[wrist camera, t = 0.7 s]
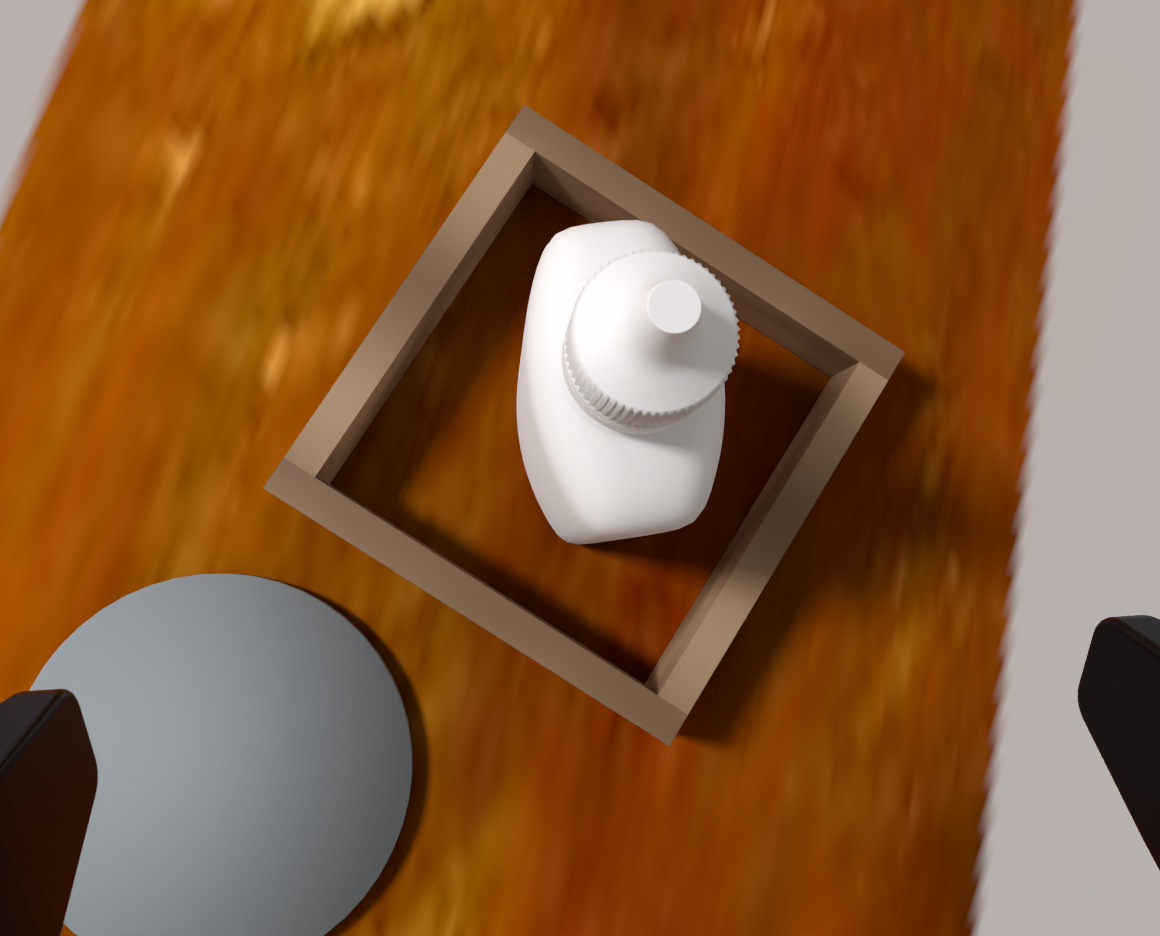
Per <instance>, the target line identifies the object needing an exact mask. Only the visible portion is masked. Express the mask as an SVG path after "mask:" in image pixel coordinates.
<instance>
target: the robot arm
mask: <svg viewBox="0 0 1160 936" xmlns="http://www.w3.org/2000/svg"><path fill="white" fill-rule="evenodd" d="M1078 703H1079V708H1080V711H1081V715H1082V717H1083V719H1084V721H1085V723H1086V725H1087V727H1088V730H1089V731H1090V734H1091V735H1092V738H1093V740H1094V742H1095V743H1096V746H1097V748H1098V750H1099V752H1100V754H1101V756H1102V758H1103V759H1104V762H1105V764H1106V766H1107V768H1108V770H1109V772H1110V774H1111V776H1112V778H1113V780H1114V782H1115V784H1116V786H1117V788H1118V790H1119V792H1120V794H1121V796H1122V798H1123V800H1124V802H1125V804H1126V806H1127V808H1128V810H1129V812H1130V814H1131V816H1132V818H1133V820H1134V822H1135V824H1136V826H1137V828H1138V830H1139V832H1140V834H1141V836H1142V838H1143V840H1144V842H1145V844H1146V846H1147V848H1148V849H1149V851H1150V853H1151V855H1152V857H1153V859H1154V861H1155V863H1156V864H1157V866H1158V868H1159V870H1160V620H1159V619H1157V618H1155V617H1152V616H1147V615H1135V616H1121V617H1109V618H1106V619H1104V620H1102V621H1101V622H1100V623H1099V624H1098V626H1097V627H1096V629H1095V631H1094V634H1093V637H1092V641H1091V644H1090V648H1089V651H1088V655H1087V659H1086V662H1085V665H1084V669H1083V673H1082V676H1081V680H1080V683H1079V688H1078ZM97 784H98V768H97V762H96V758H95V755H94V751H93V748H92V745H91V741H90V738H89V735H88V731H87V728H86V725H85V721H84V718H83V715H82V711H81V708H80V705H79V702H78V700H77V698H76V697H75V695H74V694H73V693H72V692H70V691H68V690H66V689H49V690H34V691H23V692H19V693H16V694H14V695H12V696H11V697H9V698H8V699H6V700H5V701H3V702H2V703H0V936H60V935H61V931H62V927H63V923H64V919H65V915H66V912H67V908H68V904H69V900H70V896H71V892H72V888H73V884H74V880H75V876H76V872H77V868H78V864H79V860H80V856H81V852H82V848H83V844H84V840H85V836H86V832H87V828H88V824H89V820H90V816H91V812H92V808H93V804H94V800H95V796H96V791H97Z"/></svg>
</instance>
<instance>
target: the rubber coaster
mask: <svg viewBox="0 0 1160 936" xmlns="http://www.w3.org/2000/svg"><path fill="white" fill-rule="evenodd" d="M49 689H66V690H68V691H70V692H72V693H73V694H74V695H75V697H76V698H77V700H78V702H79V705H80V708H81V711H82V715H83V718H84V721H85V725H86V728H87V731H88V735H89V738H90V741H91V745H92V748H93V751H94V755H95V758H96V762H97V768H98V784H97V791H96V796H95V800H94V804H93V808H92V812H91V816H90V820H89V824H88V828H87V832H86V836H85V840H84V844H83V848H82V852H81V856H80V860H79V864H78V868H77V872H76V876H75V880H74V884H73V888H72V892H71V896H70V900H69V904H68V908H67V912H66V915H65V919H64V924H65V925H66V926H67V927H68V928H69V929H70V930H71V931H72V932H73V933H75V934H76V935H77V936H324V935H325V934H326V933H328V932H329V931H330V930H331V929H332V928H333V927H335V926H336V925H337V924H338V923H339V922H341V921H342V920H343V919H344V918H345V917H346V916H347V915H348V914H349V913H350V912H351V911H352V910H353V909H354V908H355V906H356V905H357V904H358V903H359V902H360V901H361V900H362V899H363V898H364V896H365V895H366V894H367V892H368V891H369V889H370V888H371V887H372V885H373V884H374V883H375V881H376V880H377V878H378V877H379V875H380V874H381V872H382V870H383V868H384V866H385V864H386V863H387V861H388V859H389V857H390V855H391V853H392V851H393V849H394V846H395V843H396V841H397V838H398V836H399V833H400V831H401V828H402V825H403V822H404V818H405V814H406V810H407V806H408V802H409V798H410V791H411V782H412V774H413V753H412V740H411V733H410V726H409V720H408V717H407V713H406V710H405V706H404V702H403V699H402V696H401V694H400V691H399V689H398V687H397V684H396V682H395V680H394V677H393V675H392V673H391V672H390V670H389V668H388V667H387V665H386V663H385V662H384V660H383V658H382V657H381V655H380V653H379V652H378V651H377V650H376V648H375V647H374V646H373V645H372V643H371V642H370V641H369V640H368V638H367V637H366V636H365V634H364V633H362V632H361V631H360V630H359V629H358V628H357V627H356V626H355V625H354V624H353V623H352V622H351V621H350V620H349V619H348V618H347V617H346V616H344V615H343V614H341V613H340V612H339V611H337V610H336V609H335V608H333V607H332V606H331V605H329V604H328V603H326V602H325V601H323V600H321V599H319V598H317V597H315V596H313V595H312V594H310V593H308V592H306V591H304V590H301V589H299V588H296V587H294V586H291V585H288V584H286V583H283V582H280V581H276V580H272V579H267V578H263V577H259V576H252V575H243V574H233V573H226V574H200V575H193V576H187V577H180V578H174V579H171V580H167V581H164V582H160V583H157V584H153V585H150V586H147V587H145V588H143V589H140V590H138V591H136V592H133V593H131V594H129V595H126V596H124V597H122V598H121V599H119V600H117V601H116V602H114V603H112V604H110V605H109V606H107V607H105V608H104V609H102V610H100V611H99V612H98V613H97V614H95V615H94V616H93V617H91V618H90V619H89V620H87V621H86V622H85V623H83V624H82V625H81V626H80V627H79V628H78V629H77V630H76V631H75V632H74V633H72V634H71V635H70V636H69V637H68V638H67V639H66V640H65V641H64V642H63V643H62V644H61V645H60V647H59V648H58V649H57V650H56V652H55V653H54V654H53V655H52V657H51V658H50V659H49V660H48V662H47V663H46V664H45V666H44V667H43V669H42V670H41V672H40V674H39V675H38V677H37V678H36V680H35V682H34V683H33V685H32V687H31V688H30V690H29V691H34V690H49Z"/></svg>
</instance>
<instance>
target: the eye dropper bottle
mask: <svg viewBox="0 0 1160 936" xmlns="http://www.w3.org/2000/svg"><path fill="white" fill-rule="evenodd" d="M725 291H726V288H725V287H723V286H721V281H720V280H717V279H715V274H712V273H709V270H708V268H703V267H702V265H701V263H695V261H694V259H693V258H692V259H688V258H687V257H686V256H685V255H681V254H680V252H679V251H678V249H677V248H676V246H675V245H674V244H673V242H672V241H671V240H670V239H669V237H668V236H667V235H666V234H665V232H663V231H662V230H661V229H659V228H658V227H657V226H655V225H654V224H653V223H649V222H644V221H640V220H620V221H609V222H600V223H592V224H585V225H580V226H574V227H570V228H568V229H566V230H563V231H561V232H559V233H557V234H555V236H554V237H553V238H552V239H551V241H550V242H549V243H548V244H547V246H546V247H545V249H544V251H543V253H542V256H541V258H540V261H539V263H538V266H537V269H536V273H535V276H534V280H533V283H532V288H531V293H530V298H529V303H528V308H527V314H526V321H525V329H524V336H523V344H522V351H521V359H520V367H519V375H518V385H517V427H518V436H519V442H520V448H521V453H522V457H523V462H524V465H525V469H526V472H527V475H528V478H529V481H530V484H531V487H532V489H533V492H534V494H535V496H536V499H537V501H538V503H539V505H540V507H541V509H542V511H543V513H544V515H545V516H546V518H547V520H548V522H549V524H550V525H551V526H552V528H553V529H554V531H555V532H556V534H557V535H558V536H559V537H561V538H562V539H563V540H564V541H566V542H567V543H573V544H579V545H580V544H590V543H598V542H605V541H613V540H620V539H627V538H634V537H640V536H646V535H652V534H658V533H663V532H669V531H673V530H677V529H680V528H682V527H684V526H686V525H688V524H690V523H692V522H694V521H695V520H696V518H697V517H698V516H699V514H700V513H701V512H702V510H703V509H704V508H705V506H706V503H707V501H708V498H709V495H710V493H711V490H712V486H713V483H714V479H715V475H716V471H717V467H718V462H719V458H720V453H721V447H722V440H723V432H724V420H725V384H724V382H725V381H726V380H728V376H727V375H729V374H730V373H731V372H732V368H731V367H732V366H733V365H734V364H735V360H734V358H735V357H737V356H738V354H737V351H736V349H738V348H739V347H740V346H739V344H738V342H737V340H739V339H740V336H739V335H738V333H737V332H738V331H739V330H740V328H739V327H738V326H737V324H736V323H737V322H738V321H739V320H738V319H737V318H736V316H735V314H736V313H737V311H736V310H735V309H733V308H732V307H733V305H734V303H733V302H732V301H730V300H729V299H730V295H729V294H727V293H726V292H725Z"/></svg>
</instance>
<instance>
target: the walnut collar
mask: <svg viewBox="0 0 1160 936" xmlns="http://www.w3.org/2000/svg"><path fill="white" fill-rule="evenodd" d="M531 184H533V185H534V186H536V187H537V188H539V189H541V190H542V191H544V192H545V193H547V194H548V195H550V196H551V197H553V198H554V199H556V200H557V201H559V202H561V203H562V204H564V205H565V206H567V207H568V208H570V209H571V210H573V211H574V212H576V213H578V214H579V215H581V216H582V217H584V218H585V219H587V220H588V221H590V222H591V223H600V222H609V221H620V220H640V221H644V222H649V223H653V224H654V225H655V226H657V227H658V228H659V229H661V230H662V231H663V232H665V234H666V235H667V236H668V237H669V239H670V240H671V241H672V242H673V244H674V245H675V246H676V248H677V249H678V251H679V252H680V254H681V255H685V256H686V257H687V258H688V259H692V258H693V259H694V261H695V263H701V265H702V267H703V268H708V270H709V273H712V274H715V279H717V280H720V281H721V286H723V287H725V288H726V291H725V292H726V293H727V294H729V295H730V299H729V300H730V301H732V302H733V303H734V305H733V307H732V308H733V309H735V310H736V311H737V313H736V314H735V316H737V317H738V318H740V319H741V320H743V321H744V322H746V323H747V324H749V325H750V326H752V327H754V328H755V329H757V330H758V331H760V332H761V333H763V334H764V335H766V336H767V337H769V338H770V339H772V340H774V341H775V342H777V343H778V344H780V345H781V346H783V347H784V348H786V349H787V350H789V351H791V352H792V353H794V354H795V355H797V356H798V357H800V358H801V359H803V360H804V361H806V362H808V363H809V364H811V365H812V366H814V367H815V368H817V369H818V370H820V371H821V372H823V373H825V374H826V375H828V376H829V377H831V378H830V380H829V381H828V383H827V384H826V386H825V388H824V389H823V391H822V393H821V394H820V396H819V398H818V399H817V401H816V403H815V404H814V406H813V407H812V409H811V411H810V412H809V414H808V416H807V417H806V419H805V421H804V422H803V424H802V426H801V427H800V429H799V430H798V432H797V434H796V435H795V437H794V439H793V440H792V442H791V444H790V445H789V447H788V449H787V450H786V452H785V454H784V455H783V457H782V458H781V460H780V462H779V463H778V465H777V467H776V468H775V470H774V472H773V473H772V475H771V477H770V478H769V480H768V481H767V483H766V485H765V486H764V488H763V490H762V491H761V493H760V495H759V496H758V498H757V500H756V501H755V503H754V505H753V506H752V508H751V509H750V511H749V513H748V514H747V516H746V518H745V519H744V521H743V523H742V524H741V526H740V528H739V529H738V531H737V532H736V534H735V536H734V537H733V539H732V541H731V542H730V544H729V546H728V547H727V549H726V551H725V552H724V554H723V555H722V557H721V559H720V560H719V562H718V564H717V565H716V567H715V569H714V570H713V572H712V574H711V575H710V577H709V579H708V580H707V582H706V583H705V585H704V587H703V588H702V590H701V592H700V593H699V595H698V597H697V598H696V600H695V602H694V603H693V605H692V606H691V608H690V610H689V611H688V613H687V615H686V616H685V618H684V620H683V621H682V623H681V625H680V626H679V628H678V629H677V631H676V633H675V634H674V636H673V638H672V639H671V641H670V643H669V644H668V646H667V648H666V649H665V651H664V653H663V654H662V656H661V657H660V659H659V661H658V662H657V664H656V666H655V667H654V669H653V671H652V672H651V674H650V676H649V677H648V679H647V680H646V682H645V684H644V683H642V682H641V681H639V680H637V679H636V678H634V677H633V676H631V675H630V674H628V673H626V672H625V671H623V670H622V669H620V668H619V667H617V666H615V665H614V664H612V663H611V662H609V661H608V660H606V659H604V658H603V657H601V656H600V655H598V654H597V653H595V652H593V651H592V650H590V649H589V648H587V647H586V646H584V645H582V644H581V643H579V642H578V641H576V640H575V639H573V638H571V637H570V636H568V635H567V634H565V633H564V632H562V631H560V630H559V629H557V628H556V627H554V626H553V625H551V624H549V623H548V622H546V621H545V620H543V619H542V618H540V617H538V616H537V615H535V614H534V613H532V612H531V611H529V610H527V609H526V608H524V607H523V606H521V605H520V604H518V603H516V602H515V601H513V600H512V599H510V598H509V597H507V596H505V595H504V594H502V593H501V592H499V591H498V590H496V589H494V588H493V587H491V586H490V585H488V584H487V583H485V582H483V581H482V580H480V579H479V578H477V577H476V576H474V575H472V574H471V573H469V572H468V571H466V570H465V569H463V568H461V567H460V566H458V565H457V564H455V563H454V562H452V561H450V560H449V559H447V558H446V557H444V556H443V555H441V554H439V553H438V552H436V551H435V550H433V549H432V548H430V547H428V546H427V545H425V544H424V543H422V542H421V541H419V540H417V539H416V538H414V537H413V536H411V535H409V534H408V533H406V532H405V531H403V530H402V529H400V528H398V527H397V526H395V525H394V524H392V523H391V522H389V521H387V520H386V519H384V518H383V517H381V516H380V515H378V514H376V513H375V512H373V511H372V510H370V509H369V508H367V507H365V506H364V505H362V504H361V503H359V502H358V501H356V500H354V499H353V498H351V497H350V496H348V495H347V494H345V493H343V492H342V491H340V490H339V489H337V488H336V487H334V486H332V485H331V484H330V483H331V482H332V480H333V479H334V477H335V476H336V474H337V473H338V471H339V470H340V468H341V467H342V465H343V464H344V462H345V461H346V459H347V458H348V456H349V455H350V454H351V452H352V451H353V449H354V448H355V446H356V445H357V443H358V442H359V440H360V439H361V437H362V436H363V434H364V433H365V431H366V430H367V428H368V427H369V425H370V424H371V422H372V421H373V419H374V418H375V416H376V415H377V413H378V412H379V410H380V409H381V407H382V406H383V404H384V403H385V401H386V400H387V398H388V397H389V395H390V394H391V393H392V391H393V390H394V388H395V387H396V385H397V384H398V382H399V381H400V379H401V378H402V376H403V375H404V373H405V372H406V370H407V369H408V367H409V366H410V364H411V363H412V361H413V360H414V358H415V357H416V355H417V354H418V352H419V351H420V349H421V348H422V346H423V345H424V343H425V342H426V340H427V339H428V337H429V336H430V335H431V333H432V332H433V330H434V329H435V327H436V326H437V324H438V323H439V321H440V320H441V318H442V317H443V315H444V314H445V312H446V311H447V309H448V308H449V306H450V305H451V303H452V302H453V300H454V299H455V297H456V296H457V294H458V293H459V291H460V290H461V288H462V287H463V285H464V284H465V282H466V281H467V279H468V278H469V277H470V275H471V274H472V272H473V271H474V269H475V268H476V266H477V265H478V263H479V262H480V260H481V259H482V257H483V256H484V254H485V253H486V251H487V250H488V248H489V247H490V245H491V244H492V242H493V241H494V239H495V238H496V236H497V235H498V233H499V232H500V230H501V229H502V227H503V226H504V224H505V223H506V221H507V220H508V218H509V217H510V216H511V214H512V213H513V211H514V210H515V208H516V207H517V205H518V204H519V202H520V201H521V199H522V198H523V196H524V195H525V193H526V192H527V190H528V189H529V187H530V186H531ZM904 353H905V352H904V351H902V350H901V349H899V348H898V347H896V346H895V345H893V344H892V343H890V342H888V341H887V340H885V339H884V338H882V337H881V336H879V335H878V334H876V333H875V332H873V331H872V330H870V329H868V328H867V327H865V326H864V325H862V324H861V323H859V322H858V321H856V320H855V319H853V318H852V317H850V316H848V315H847V314H845V313H844V312H842V311H841V310H839V309H838V308H836V307H835V306H833V305H832V304H830V303H828V302H827V301H825V300H824V299H822V298H821V297H819V296H818V295H816V294H815V293H813V292H812V291H810V290H808V289H807V288H805V287H804V286H802V285H801V284H799V283H798V282H796V281H795V280H793V279H792V278H790V277H788V276H787V275H785V274H784V273H782V272H781V271H779V270H778V269H776V268H775V267H773V266H772V265H770V264H768V263H767V262H765V261H764V260H762V259H761V258H759V257H758V256H756V255H755V254H753V253H751V252H750V251H748V250H747V249H745V248H744V247H742V246H741V245H739V244H738V243H736V242H735V241H733V240H731V239H730V238H728V237H727V236H725V235H724V234H722V233H721V232H719V231H718V230H716V229H715V228H713V227H711V226H710V225H708V224H707V223H705V222H704V221H702V220H701V219H699V218H698V217H696V216H695V215H693V214H691V213H690V212H688V211H687V210H685V209H684V208H682V207H681V206H679V205H678V204H676V203H675V202H673V201H671V200H670V199H668V198H667V197H665V196H664V195H662V194H661V193H659V192H658V191H656V190H655V189H653V188H651V187H650V186H648V185H647V184H645V183H644V182H642V181H641V180H639V179H638V178H636V177H635V176H633V175H631V174H630V173H628V172H627V171H625V170H624V169H622V168H621V167H619V166H618V165H616V164H615V163H613V162H611V161H610V160H608V159H607V158H605V157H604V156H602V155H601V154H599V153H598V152H596V151H595V150H593V149H591V148H590V147H588V146H587V145H585V144H584V143H582V142H581V141H579V140H578V139H576V138H575V137H573V136H571V135H570V134H568V133H567V132H565V131H564V130H562V129H561V128H559V127H558V126H556V125H555V124H553V123H551V122H550V121H548V120H547V119H545V118H544V117H542V116H541V115H539V114H538V113H536V112H535V111H533V110H531V109H530V108H528V107H527V106H525V105H524V106H523V108H522V109H521V111H520V112H519V114H518V115H517V117H516V118H515V119H514V121H513V122H512V124H511V125H510V127H509V128H508V130H507V131H506V133H505V134H504V136H503V137H502V139H501V140H500V141H499V143H498V144H497V146H496V147H495V149H494V150H493V152H492V153H491V155H490V156H489V158H488V159H487V161H486V162H485V163H484V165H483V166H482V168H481V169H480V171H479V172H478V174H477V175H476V177H475V178H474V180H473V181H472V183H471V184H470V185H469V187H468V188H467V190H466V191H465V193H464V194H463V196H462V197H461V199H460V200H459V202H458V203H457V205H456V206H455V207H454V209H453V210H452V212H451V213H450V215H449V216H448V218H447V219H446V221H445V222H444V224H443V225H442V227H441V228H440V229H439V231H438V232H437V234H436V235H435V237H434V238H433V240H432V241H431V243H430V244H429V246H428V247H427V249H426V250H425V251H424V253H423V254H422V256H421V257H420V259H419V260H418V262H417V263H416V265H415V266H414V268H413V269H412V271H411V272H410V273H409V275H408V276H407V278H406V279H405V281H404V282H403V284H402V285H401V287H400V288H399V290H398V291H397V293H396V294H395V295H394V297H393V298H392V300H391V301H390V303H389V304H388V306H387V307H386V309H385V310H384V312H383V313H382V315H381V316H380V317H379V319H378V320H377V322H376V323H375V325H374V326H373V328H372V329H371V331H370V332H369V334H368V335H367V337H366V338H365V339H364V341H363V342H362V344H361V345H360V347H359V348H358V350H357V351H356V353H355V354H354V356H353V357H352V359H351V360H350V361H349V363H348V364H347V366H346V367H345V369H344V370H343V372H342V373H341V375H340V376H339V378H338V379H337V381H336V382H335V383H334V385H333V386H332V388H331V389H330V391H329V392H328V394H327V395H326V397H325V398H324V400H323V401H322V403H321V404H320V405H319V407H318V408H317V410H316V411H315V413H314V414H313V416H312V417H311V419H310V420H309V422H308V423H307V425H306V426H305V427H304V429H303V430H302V432H301V433H300V435H299V436H298V438H297V439H296V441H295V442H294V444H293V445H292V447H291V448H290V449H289V451H288V452H287V454H286V455H285V457H284V458H283V460H282V461H281V463H280V464H279V466H278V467H277V469H276V470H275V471H274V473H273V474H272V476H271V477H270V479H269V480H268V482H267V483H266V485H265V486H264V489H265V490H267V491H268V492H270V493H272V494H273V495H275V496H276V497H278V498H279V499H281V500H283V501H284V502H286V503H287V504H289V505H290V506H292V507H294V508H295V509H297V510H298V511H300V512H301V513H303V514H305V515H306V516H308V517H309V518H311V519H312V520H314V521H316V522H317V523H319V524H320V525H322V526H324V527H325V528H327V529H328V530H330V531H331V532H333V533H335V534H336V535H338V536H339V537H341V538H342V539H344V540H346V541H347V542H349V543H350V544H352V545H353V546H355V547H357V548H358V549H360V550H361V551H363V552H364V553H366V554H368V555H369V556H371V557H372V558H374V559H375V560H377V561H379V562H380V563H382V564H383V565H385V566H387V567H388V568H390V569H391V570H393V571H394V572H396V573H398V574H399V575H401V576H402V577H404V578H405V579H407V580H409V581H410V582H412V583H413V584H415V585H416V586H418V587H420V588H421V589H423V590H424V591H426V592H427V593H429V594H431V595H432V596H434V597H435V598H437V599H439V600H440V601H442V602H443V603H445V604H446V605H448V606H450V607H451V608H453V609H454V610H456V611H457V612H459V613H461V614H462V615H464V616H465V617H467V618H468V619H470V620H472V621H473V622H475V623H476V624H478V625H479V626H481V627H483V628H484V629H486V630H487V631H489V632H490V633H492V634H494V635H495V636H497V637H498V638H500V639H502V640H503V641H505V642H506V643H508V644H509V645H511V646H513V647H514V648H516V649H517V650H519V651H520V652H522V653H524V654H525V655H527V656H528V657H530V658H531V659H533V660H535V661H536V662H538V663H539V664H541V665H542V666H544V667H546V668H547V669H549V670H550V671H552V672H554V673H555V674H557V675H558V676H560V677H561V678H563V679H565V680H566V681H568V682H569V683H571V684H572V685H574V686H576V687H577V688H579V689H580V690H582V691H583V692H585V693H587V694H588V695H590V696H591V697H593V698H594V699H596V700H598V701H599V702H601V703H602V704H604V705H605V706H607V707H609V708H610V709H612V710H613V711H615V712H617V713H618V714H620V715H621V716H623V717H624V718H626V719H628V720H629V721H631V722H632V723H634V724H635V725H637V726H639V727H640V728H642V729H643V730H645V731H646V732H648V733H650V734H651V735H653V736H654V737H656V738H657V739H659V740H661V741H662V742H664V743H665V744H667V745H669V746H670V744H671V742H672V741H673V739H674V737H675V736H676V734H677V732H678V731H679V729H680V727H681V726H682V724H683V722H684V721H685V719H686V717H687V716H688V714H689V712H690V711H691V709H692V707H693V706H694V704H695V702H696V701H697V699H698V697H699V696H700V694H701V692H702V691H703V689H704V687H705V686H706V684H707V682H708V681H709V679H710V677H711V676H712V674H713V672H714V671H715V669H716V667H717V666H718V664H719V662H720V661H721V659H722V657H723V656H724V654H725V652H726V650H727V649H728V647H729V645H730V644H731V642H732V640H733V639H734V637H735V635H736V634H737V632H738V630H739V629H740V627H741V625H742V624H743V622H744V620H745V619H746V617H747V615H748V614H749V612H750V610H751V609H752V607H753V605H754V604H755V602H756V600H757V599H758V597H759V595H760V594H761V592H762V590H763V589H764V587H765V585H766V584H767V582H768V580H769V579H770V577H771V575H772V574H773V572H774V570H775V569H776V567H777V565H778V564H779V562H780V560H781V559H782V557H783V555H784V554H785V552H786V550H787V549H788V547H789V545H790V544H791V542H792V540H793V539H794V537H795V535H796V534H797V532H798V530H799V529H800V527H801V525H802V524H803V522H804V520H805V519H806V517H807V515H808V514H809V512H810V510H811V509H812V507H813V505H814V504H815V502H816V500H817V499H818V497H819V495H820V494H821V492H822V490H823V489H824V487H825V485H826V484H827V482H828V480H829V479H830V477H831V475H832V474H833V472H834V470H835V469H836V467H837V465H838V464H839V462H840V460H841V459H842V457H843V455H844V454H845V452H846V450H847V449H848V447H849V445H850V444H851V442H852V440H853V439H854V437H855V435H856V434H857V432H858V430H859V429H860V427H861V425H862V424H863V422H864V420H865V419H866V417H867V415H868V414H869V412H870V410H871V409H872V407H873V405H874V403H875V402H876V400H877V398H878V397H879V395H880V393H881V392H882V390H883V388H884V387H885V385H886V383H887V382H888V380H889V378H890V377H891V375H892V373H893V372H894V370H895V368H896V367H897V365H898V363H899V362H900V360H901V358H902V357H903V355H904Z"/></svg>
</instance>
